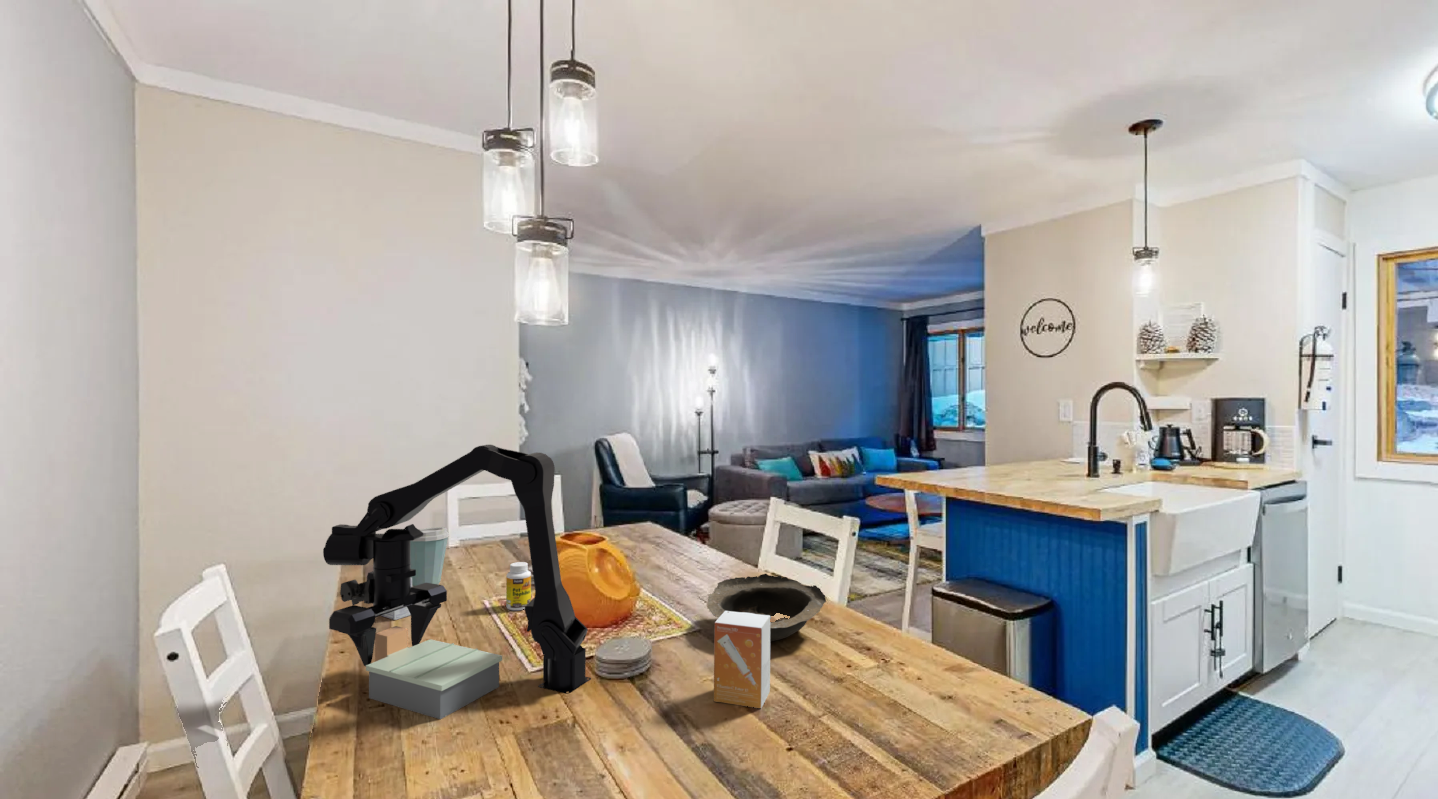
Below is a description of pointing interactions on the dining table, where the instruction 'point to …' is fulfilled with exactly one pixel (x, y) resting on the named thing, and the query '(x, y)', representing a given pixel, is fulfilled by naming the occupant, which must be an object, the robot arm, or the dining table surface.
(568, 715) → the dining table surface
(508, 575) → the supplement bottle
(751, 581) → the stone bowl
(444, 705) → the tub
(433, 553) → the disposable coffee cup
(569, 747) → the dining table surface
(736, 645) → the small box
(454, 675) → the lid
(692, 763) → the dining table surface
